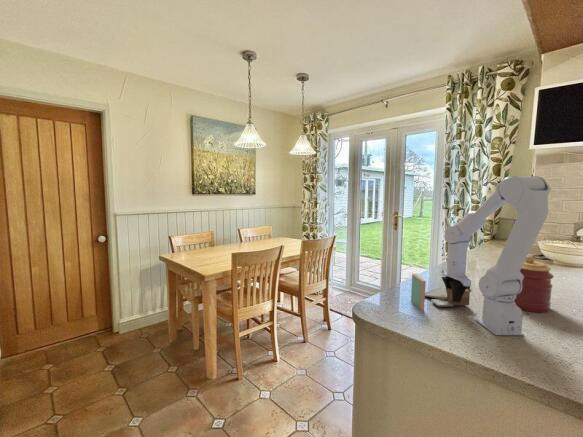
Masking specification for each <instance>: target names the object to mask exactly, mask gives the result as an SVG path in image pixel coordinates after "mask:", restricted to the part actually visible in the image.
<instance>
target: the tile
mask: <svg viewBox="0 0 583 437" xmlns="http://www.w3.org/2000/svg"><path fill="white" fill-rule="evenodd" d="M426 283H427V282H426V280H425V279H424V278H422V277H421V276H420V275H418V274H417V273H412V274H411V287H410V288H411V289H410V302H411V303H413V305H415V306H416V308H417V309H419V311H425V301H426V300H425V298H426V296H425V293H426Z"/></svg>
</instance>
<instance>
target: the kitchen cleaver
mask: <svg viewBox="0 0 583 437" xmlns="http://www.w3.org/2000/svg"><path fill="white" fill-rule="evenodd" d="M470 289H471V286H469V287H468V288H467V290H470ZM425 297H428V298H432V299H433V298H434V299H442V300H447V291H446V287H445V288H442V287H438V288H436V289H435V288H434V289H431V290H429V291H425Z"/></svg>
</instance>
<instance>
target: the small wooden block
mask: <svg viewBox="0 0 583 437" xmlns="http://www.w3.org/2000/svg"><path fill="white" fill-rule="evenodd" d="M470 291H471V290H470V289H468V290H467V289H466V290H465V292H464V294H463V296H462V299H461V301H460V302H454V301H453V294H452V288H447V300H442V299H437V298H434V299H433V298H432V299H431V302H432V303H433V304H435V305H436V306H437V307H454V306H470V300H471V299H470V298H471V297H470V294H471V292H470Z"/></svg>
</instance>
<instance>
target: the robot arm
mask: <svg viewBox="0 0 583 437" xmlns="http://www.w3.org/2000/svg"><path fill="white" fill-rule="evenodd" d="M551 191H552V188H551V187H550V184H548V182H547V181H546V178H545V179H544V177H542V176H539V175H532V176H526V175H525V176H522V175H519V176H518V175H508V176H506V177H503V179H502V180H501V181H500V182H499V183H497V184H496V185H495V189H494V191H493V192H492V193H491V194H490V195H489V196H488V197H487V199H485V201H484V202H482V204H481V205H480V206H479V207H478V208H477V209H476V210H470V211H466V212H465V213H464V216H463V217H462V218H461V219H460V220H458V221H457V222H456V223H455V224H454V225H450V226H447V228H446V229H445V230H444V239H445V241H446V242H447V251H446V252H447V253H446V267H442V268H441V274H442V275H443V276H442V277H441V279H442V281H443V284H444V286H445V289H446V291H447V288H452V294H453V301H454V302H460V301H461V299H462V296H463V294H464V292H465V290H466V289H467V288H468V287H469V286H470V287H472V280H471V279H470V278H469V277H468V275H466V272H467V271H466V268H467V258H468V257H467V252H468V248H469V246H470V243H471V241H472V240H473V238H474V234H475V233H477V232H478V231H479V230H480V229H481V228H483V227H484V226H485V225H486V223H487V218H488V217H490V216H491V215H492V214H493V213H495V212H496V211H497V210H499V209H501V208H502V207H503V206H504V205H506V204H507V203H508V204H509V205H511V207H513V208H514V209H515V210H516V211H517V214H518V216H517V218H516V219H515V222H514V224H513V227H512V228H511V231H510V233H509V236H508V238H507V239H506V242H505V245H504V247H503V249H502V250H501V253H500V255H499V257H498V259H497V261H496V263H495V265H493V266H491V267H490V268H489V269H487V271H486V272H485V274H484V275H483V276H481V277H480V278H479V280H478V288H479V291H480V293H481V294H482V297H483V305H482V317H481V318H479V317H476V318H475V321H476V322H478V323H479V324H480V325H481V326H483V327H485V329H486V330H488V331H490V332H491V333H492V334H494V335H495V336H525V333H524V332H522V330H523V329H522V327H523V320H524V319H523V318H524V317H523V316H524V313H523V310H521V309H520V308H519V307H518V306H517V305H516V303H515V299H516V295H517V294H519V293H520V292H521V291H522V280H523V278H524V276H523V274H522V273H521V272H520V270H521V268H522V266H523V264H524V262H525V260H526V258H527V256H529V254H530V251H531V249H532V248H533V245H534V243H535V242H536V239H537V238H538V235H539V233H540V231H541V230H542V227H543V225H544V223H545V222H546V219H547V218H548V215H549V194H550V192H551Z"/></svg>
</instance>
